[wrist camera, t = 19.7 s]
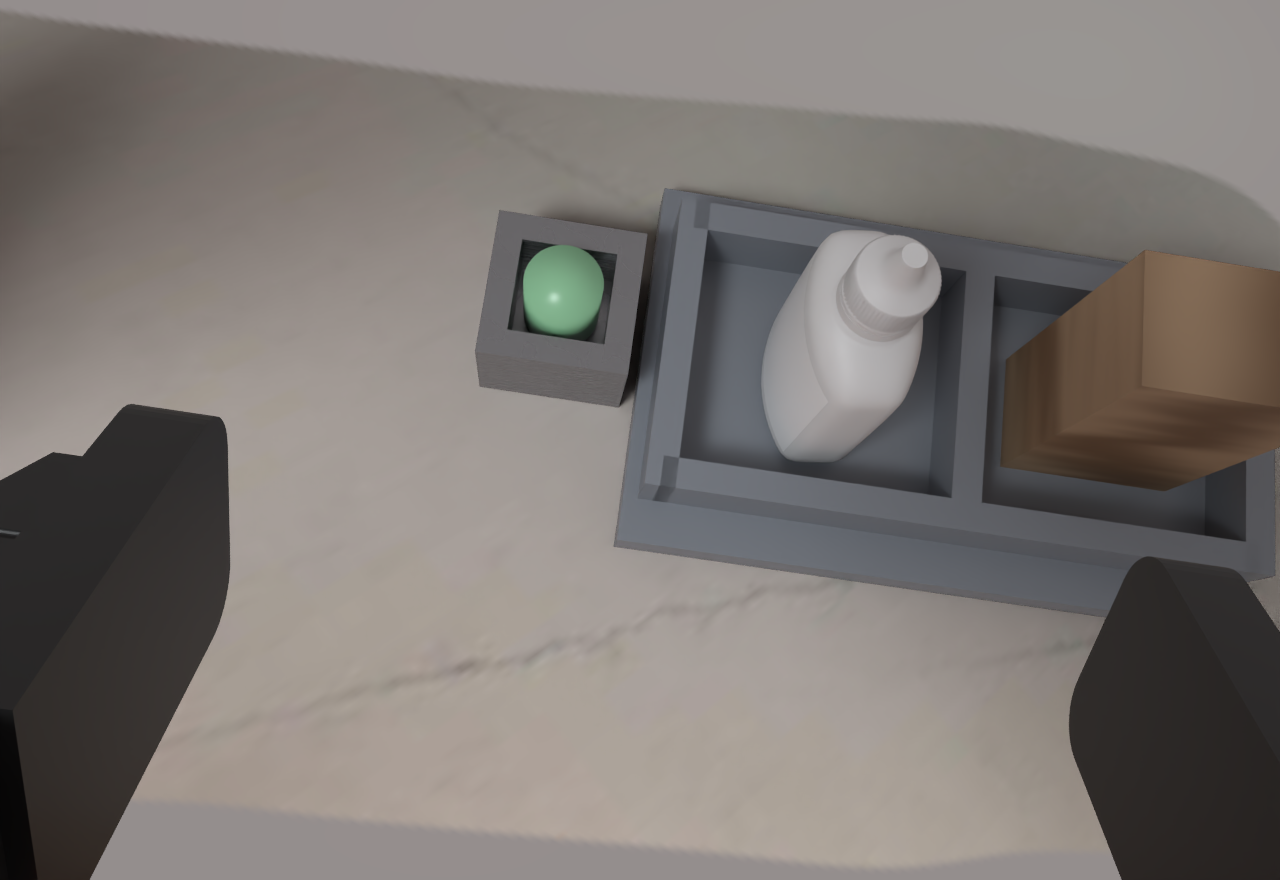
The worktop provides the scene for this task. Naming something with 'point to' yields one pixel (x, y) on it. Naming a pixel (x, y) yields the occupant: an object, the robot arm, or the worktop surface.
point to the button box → (548, 360)
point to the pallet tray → (892, 433)
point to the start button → (562, 293)
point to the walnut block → (1150, 377)
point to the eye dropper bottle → (846, 342)
